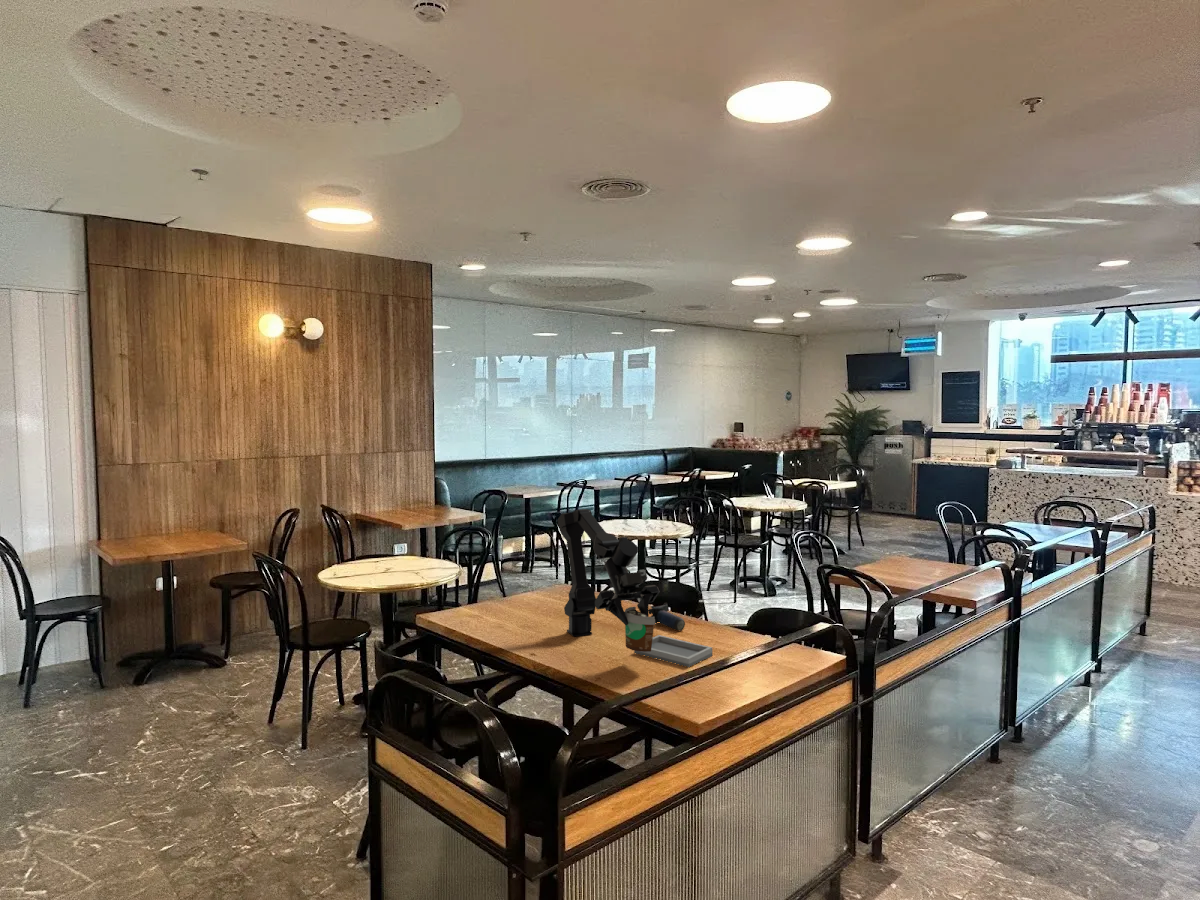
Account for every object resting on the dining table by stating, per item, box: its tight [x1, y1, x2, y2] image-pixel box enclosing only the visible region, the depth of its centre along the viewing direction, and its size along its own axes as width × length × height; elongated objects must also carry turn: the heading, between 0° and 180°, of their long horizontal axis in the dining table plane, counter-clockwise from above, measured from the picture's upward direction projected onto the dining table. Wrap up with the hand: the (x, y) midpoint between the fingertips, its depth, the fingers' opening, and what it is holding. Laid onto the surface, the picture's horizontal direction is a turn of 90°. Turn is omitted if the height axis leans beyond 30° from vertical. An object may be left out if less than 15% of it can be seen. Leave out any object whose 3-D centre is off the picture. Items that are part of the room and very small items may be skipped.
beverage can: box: [648, 602, 686, 631], centre depth 245 cm, size 9×8×12 cm
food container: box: [624, 606, 656, 652], centre depth 206 cm, size 12×6×10 cm, turn 25°
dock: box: [633, 634, 713, 668], centre depth 217 cm, size 13×19×2 cm
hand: (637, 623), depth 205 cm, fingers closed on food container, 6 cm apart
